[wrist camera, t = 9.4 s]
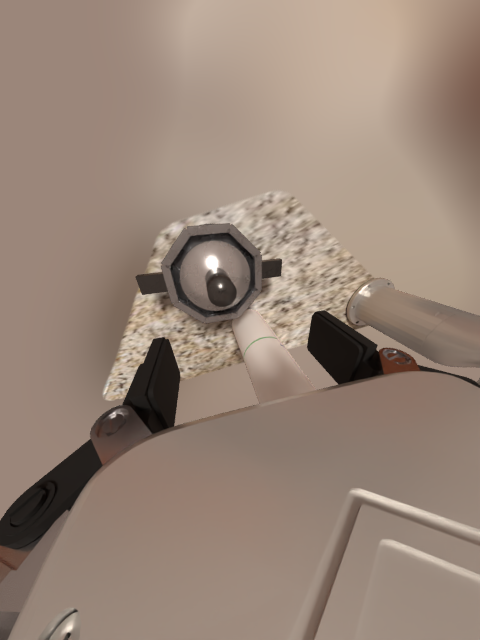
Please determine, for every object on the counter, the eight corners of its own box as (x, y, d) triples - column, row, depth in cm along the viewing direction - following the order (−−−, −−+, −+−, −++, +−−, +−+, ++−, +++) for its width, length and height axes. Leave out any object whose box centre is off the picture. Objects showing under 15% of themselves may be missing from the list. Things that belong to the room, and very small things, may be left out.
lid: (246, 237, 23) (265, 240, 17) (249, 303, 28) (264, 324, 22) (172, 243, 21) (163, 250, 15) (188, 312, 26) (186, 338, 20)
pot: (267, 219, 29) (289, 217, 22) (266, 294, 36) (283, 310, 29) (134, 229, 25) (112, 230, 19) (161, 310, 32) (152, 333, 25)
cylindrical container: (248, 341, 41) (306, 469, 19) (225, 327, 37) (265, 462, 16) (268, 320, 39) (357, 433, 18) (246, 302, 36) (323, 417, 14)
